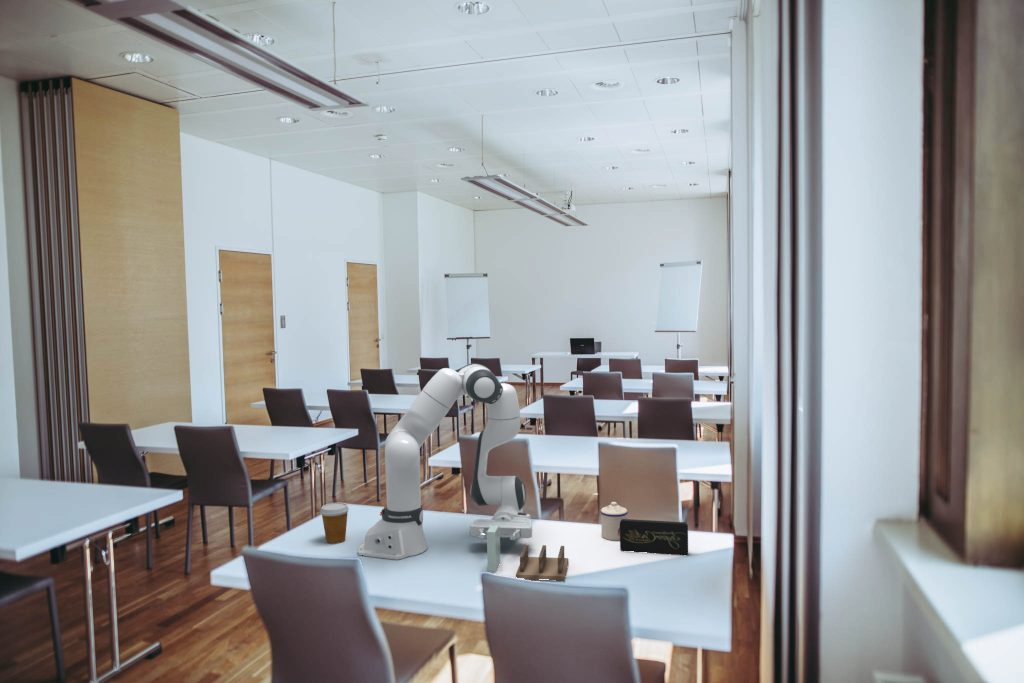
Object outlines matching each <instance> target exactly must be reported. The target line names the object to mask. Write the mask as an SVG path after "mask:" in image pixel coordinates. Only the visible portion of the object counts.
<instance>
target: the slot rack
mask: <svg viewBox="0 0 1024 683" xmlns="http://www.w3.org/2000/svg"><path fill="white" fill-rule="evenodd" d="M538 555H539V556H529V544H524V546H523V548H522V551H521V553H520V556H519V565H518V568H517V570H516V573H515V578H516V577H517V578H524V579H529V580H528V581H537V580H539V579H549V580H556V581H555V582H561V581H563V583H565V580H566V577H565V576H567V572H568V568H567V567H569V557H565V545H560V548H559V551H558V556H557V557H547V545H546V544H545V545H544V544H542V546H541V549H540V552H539V554H538ZM539 581H540V582H541V581H542V582H543V581H544V582H548V581H547V580H539Z"/></svg>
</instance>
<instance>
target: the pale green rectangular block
mask: <svg viewBox="0 0 1024 683" xmlns="http://www.w3.org/2000/svg"><path fill="white" fill-rule="evenodd" d="M486 551H487V552H486V556H487V572H488V571H489V572H491V573H497V572H498V569H499V567H500V565H501V537H500V529H499V525H493V524H491V526H490V528H489V529H488V531H487V537H486ZM499 564H500V565H499ZM498 566H499V567H498ZM497 568H498V569H497ZM489 572H488V573H489Z"/></svg>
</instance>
